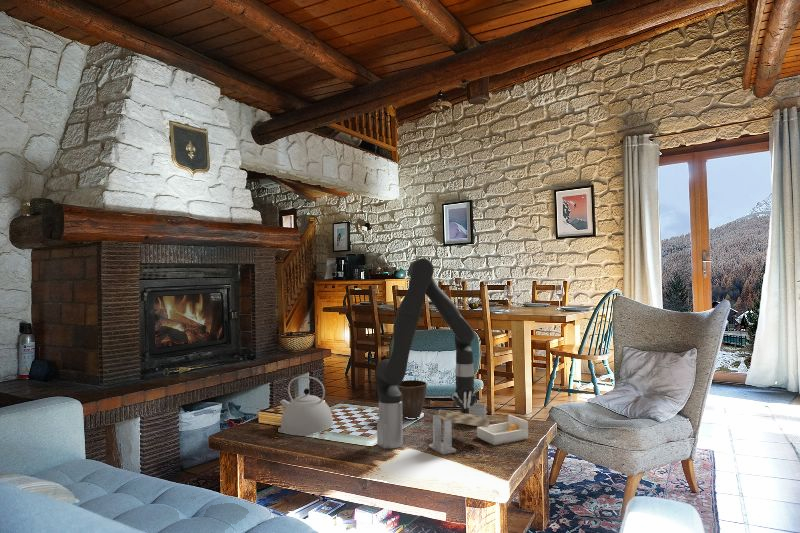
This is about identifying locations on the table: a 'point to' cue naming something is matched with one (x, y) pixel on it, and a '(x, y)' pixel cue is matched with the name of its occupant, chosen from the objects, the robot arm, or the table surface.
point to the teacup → (478, 410)
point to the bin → (504, 431)
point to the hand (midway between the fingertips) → (465, 416)
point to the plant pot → (412, 397)
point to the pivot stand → (447, 436)
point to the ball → (512, 427)
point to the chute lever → (463, 418)
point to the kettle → (305, 413)
